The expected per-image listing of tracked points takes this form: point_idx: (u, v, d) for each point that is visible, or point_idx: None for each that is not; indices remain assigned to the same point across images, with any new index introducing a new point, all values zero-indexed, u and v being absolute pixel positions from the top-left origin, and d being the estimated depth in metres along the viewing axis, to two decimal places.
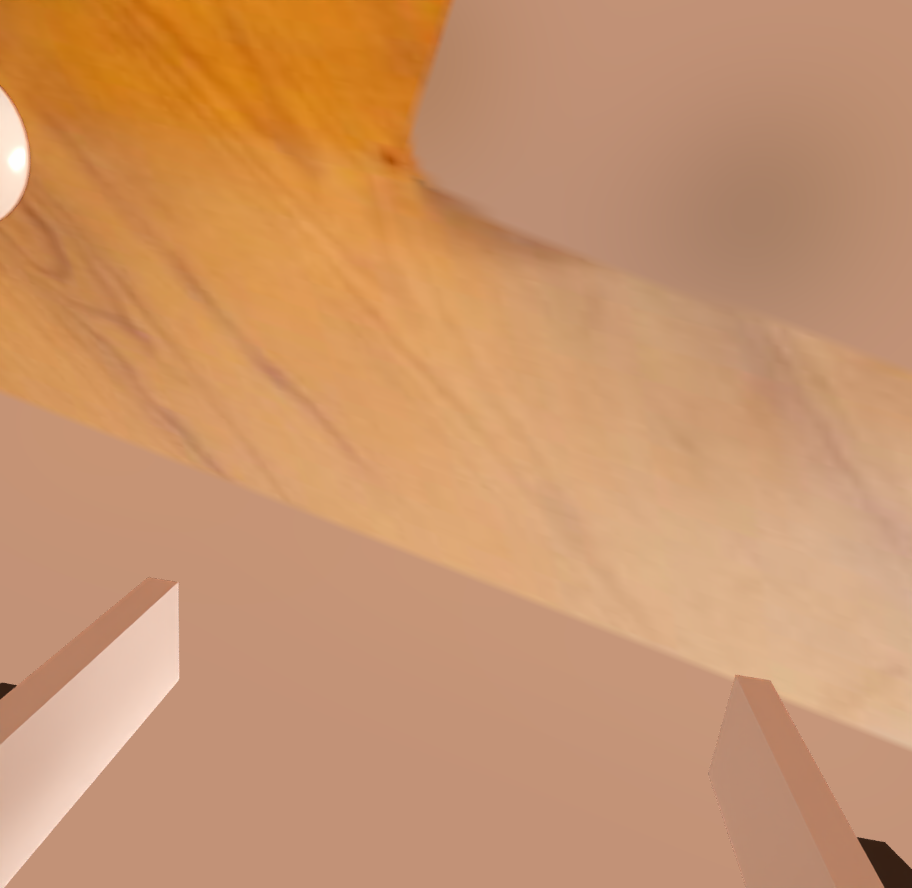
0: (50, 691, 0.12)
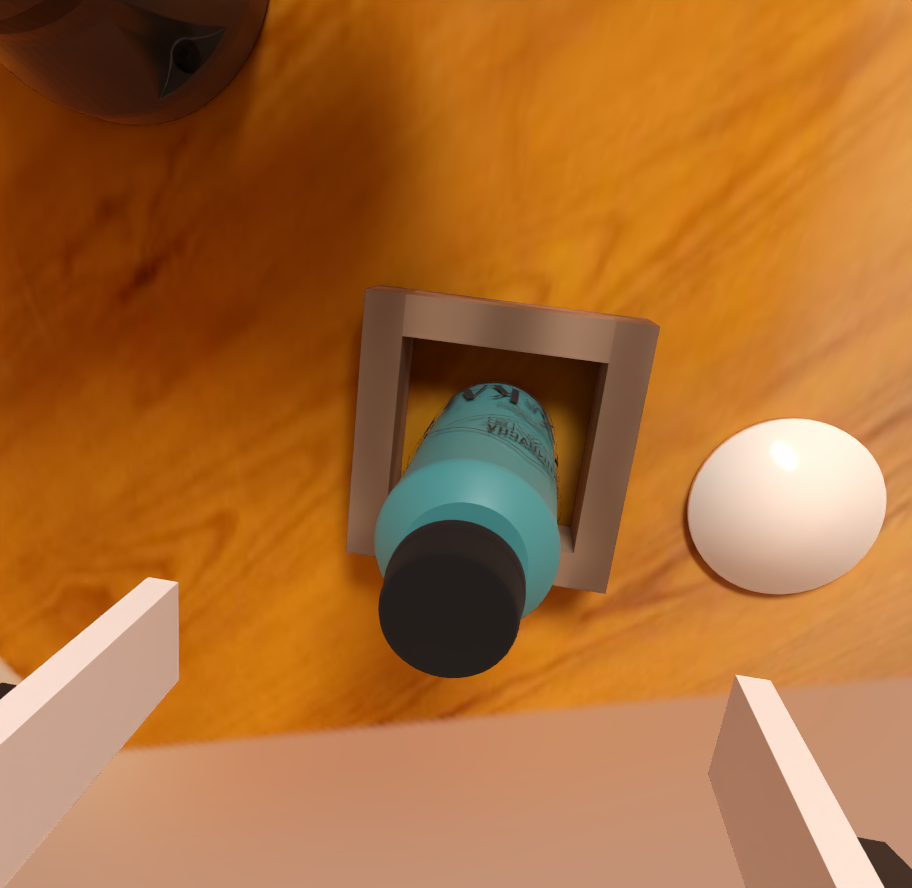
0: (50, 691, 0.12)
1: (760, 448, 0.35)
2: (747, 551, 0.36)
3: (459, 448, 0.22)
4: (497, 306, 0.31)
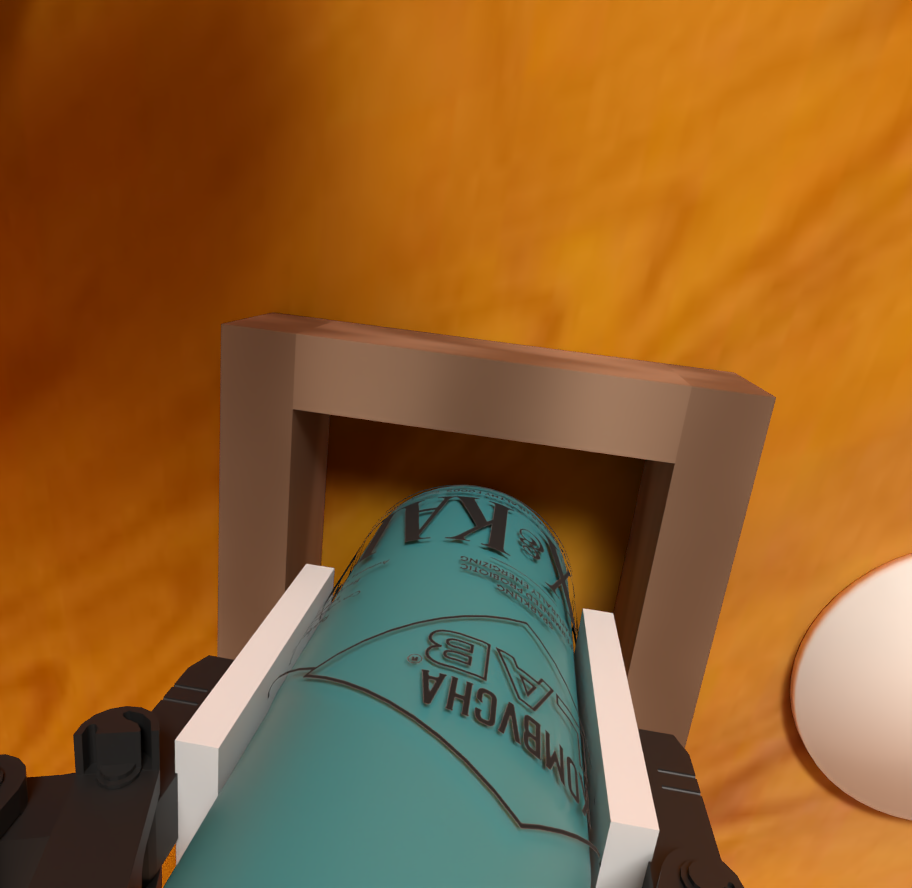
0: (267, 660, 0.13)
1: None
2: (893, 757, 0.22)
3: (321, 816, 0.08)
4: (465, 357, 0.17)
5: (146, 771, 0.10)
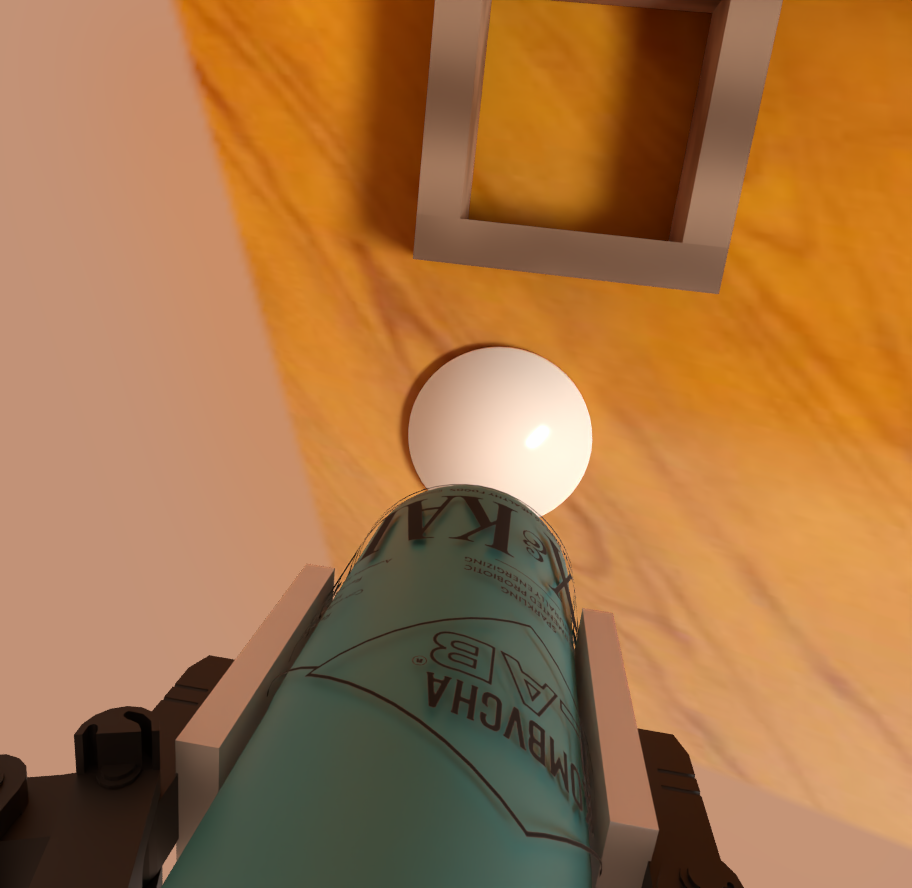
0: (268, 660, 0.13)
1: (563, 410, 0.35)
2: (452, 408, 0.36)
3: (325, 820, 0.08)
4: (757, 108, 0.27)
5: (146, 771, 0.10)
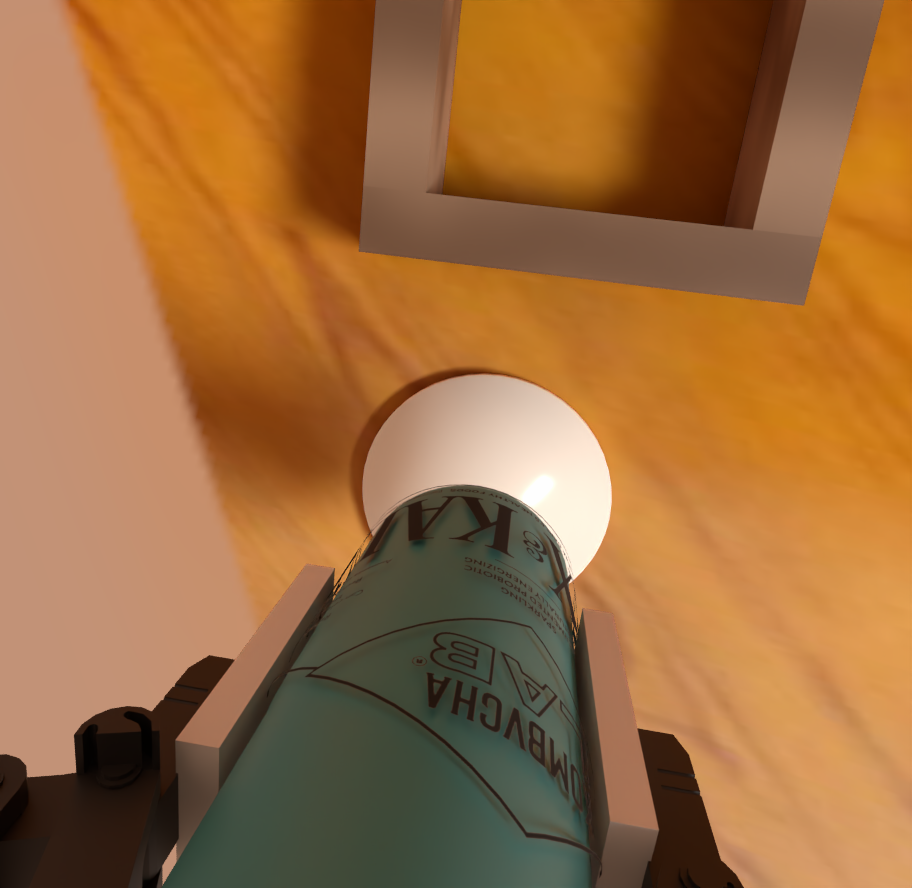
0: (268, 660, 0.13)
1: (572, 461, 0.26)
2: (422, 457, 0.26)
3: (325, 821, 0.08)
4: (875, 24, 0.18)
5: (147, 771, 0.10)
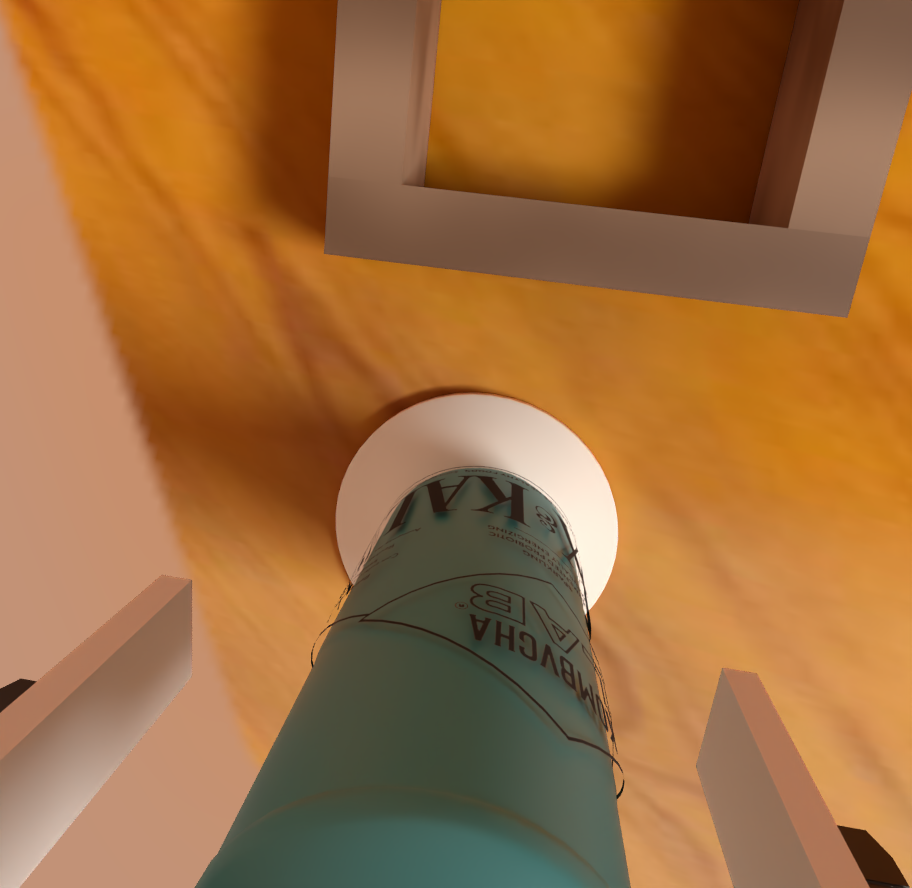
0: (70, 686, 0.12)
1: (573, 492, 0.22)
2: (402, 487, 0.23)
3: (400, 724, 0.09)
4: None
5: None
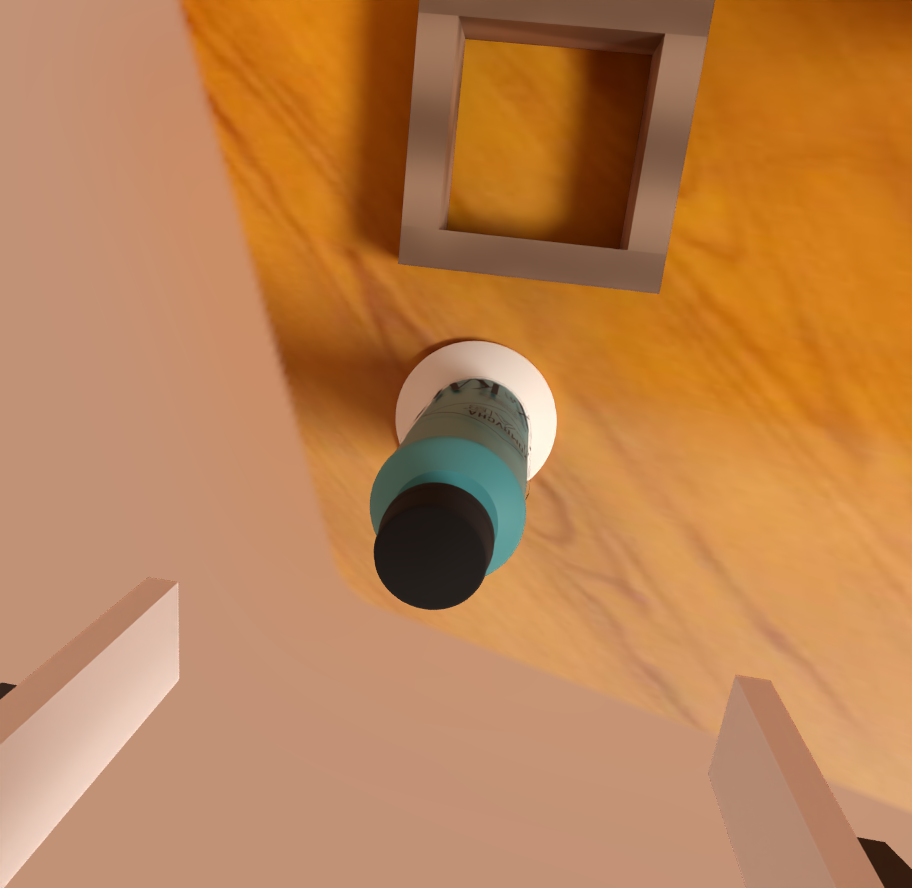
0: (50, 691, 0.12)
1: (530, 396, 0.40)
2: (434, 395, 0.41)
3: (443, 428, 0.27)
4: (687, 137, 0.33)
5: None
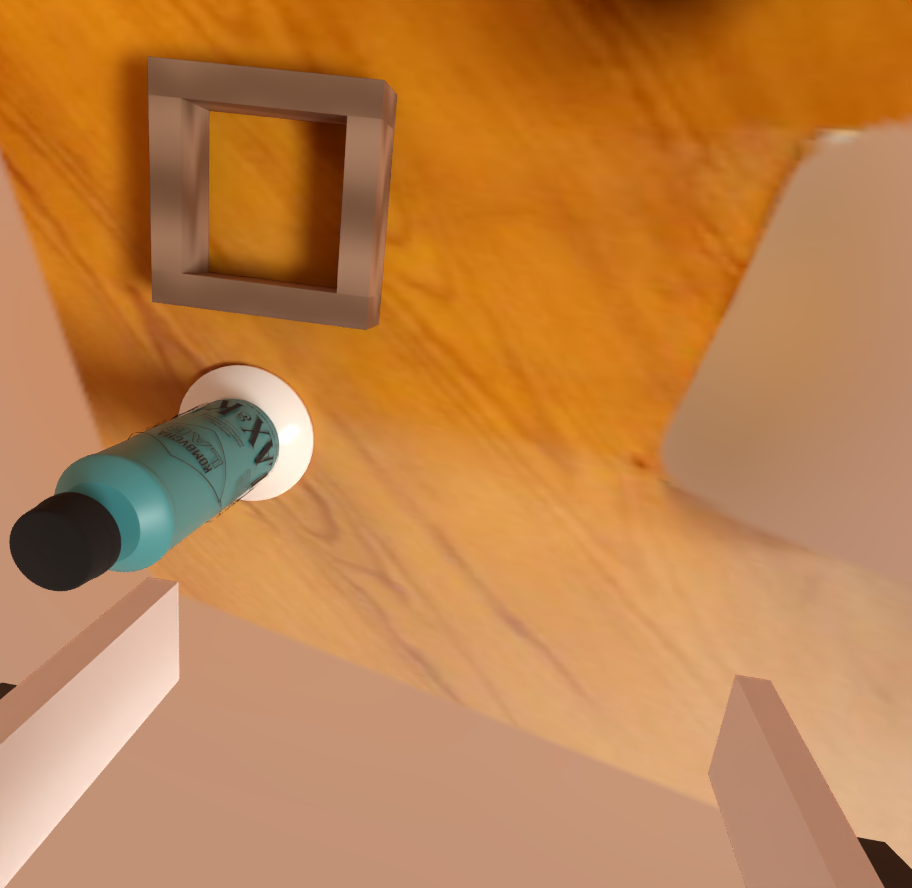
0: (50, 691, 0.12)
1: (288, 413, 0.46)
2: None
3: (118, 446, 0.33)
4: (375, 200, 0.39)
5: None
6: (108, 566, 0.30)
